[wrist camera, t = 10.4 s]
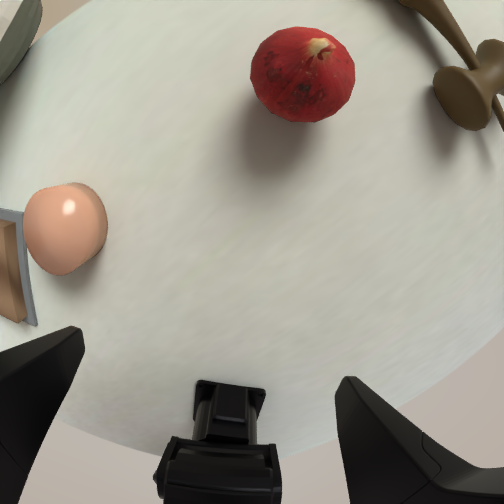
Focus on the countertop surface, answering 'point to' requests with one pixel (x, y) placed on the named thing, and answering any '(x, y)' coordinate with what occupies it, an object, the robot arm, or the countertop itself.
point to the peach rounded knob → (64, 227)
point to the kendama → (466, 71)
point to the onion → (302, 74)
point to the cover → (10, 275)
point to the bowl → (17, 31)
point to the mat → (22, 262)
